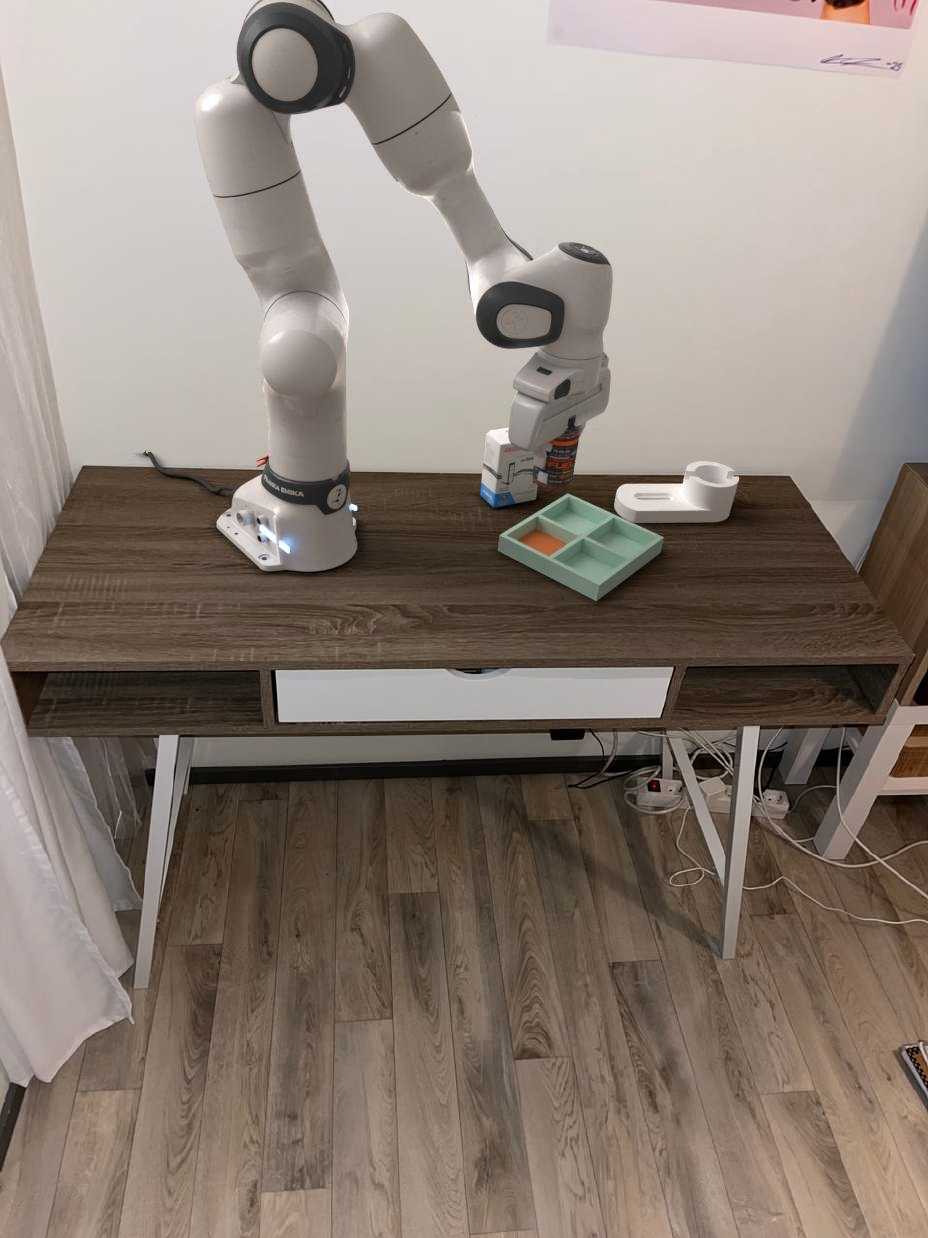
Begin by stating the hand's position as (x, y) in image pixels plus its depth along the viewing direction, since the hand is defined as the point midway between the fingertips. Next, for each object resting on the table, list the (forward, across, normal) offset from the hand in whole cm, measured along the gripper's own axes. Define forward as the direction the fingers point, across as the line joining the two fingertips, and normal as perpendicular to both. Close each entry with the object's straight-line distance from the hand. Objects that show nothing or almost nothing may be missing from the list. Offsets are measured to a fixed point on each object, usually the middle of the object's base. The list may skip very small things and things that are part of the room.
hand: (555, 457), depth 147 cm
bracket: (+17, -27, +8) cm, 33 cm away
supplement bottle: (+4, 0, 0) cm, 4 cm away
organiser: (+16, -4, +4) cm, 18 cm away
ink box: (+17, -9, -14) cm, 24 cm away
